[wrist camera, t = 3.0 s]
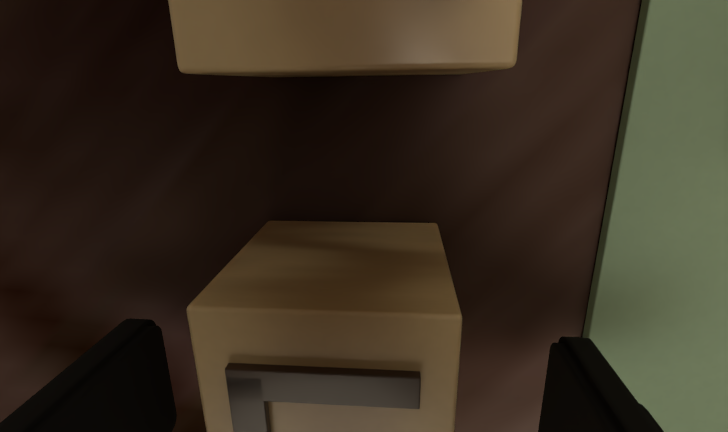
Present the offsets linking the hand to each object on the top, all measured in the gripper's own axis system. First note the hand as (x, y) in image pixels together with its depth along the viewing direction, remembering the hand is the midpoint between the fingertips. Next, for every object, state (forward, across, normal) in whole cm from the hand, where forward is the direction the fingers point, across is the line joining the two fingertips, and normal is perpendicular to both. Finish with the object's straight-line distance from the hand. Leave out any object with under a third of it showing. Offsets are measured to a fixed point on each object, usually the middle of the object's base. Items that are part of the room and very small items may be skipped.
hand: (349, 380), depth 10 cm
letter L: (+3, 0, 0) cm, 3 cm away
